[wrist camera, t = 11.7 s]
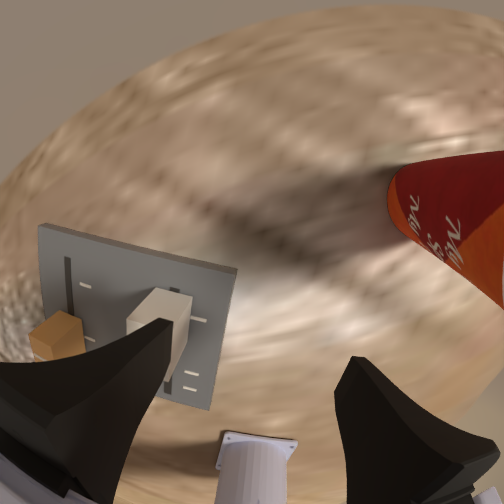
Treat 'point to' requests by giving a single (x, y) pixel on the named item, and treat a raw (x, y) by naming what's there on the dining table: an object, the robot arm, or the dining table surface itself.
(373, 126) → the dining table surface
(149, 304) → the grey fader
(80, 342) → the orange fader
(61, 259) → the console
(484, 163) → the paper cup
